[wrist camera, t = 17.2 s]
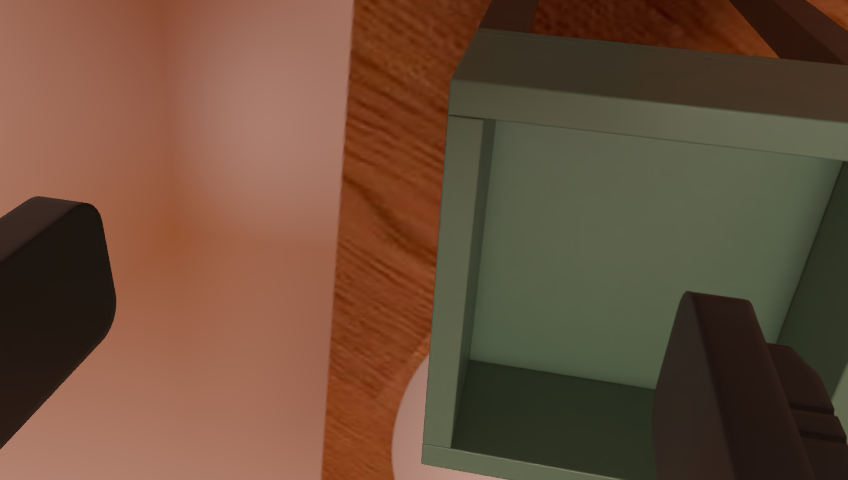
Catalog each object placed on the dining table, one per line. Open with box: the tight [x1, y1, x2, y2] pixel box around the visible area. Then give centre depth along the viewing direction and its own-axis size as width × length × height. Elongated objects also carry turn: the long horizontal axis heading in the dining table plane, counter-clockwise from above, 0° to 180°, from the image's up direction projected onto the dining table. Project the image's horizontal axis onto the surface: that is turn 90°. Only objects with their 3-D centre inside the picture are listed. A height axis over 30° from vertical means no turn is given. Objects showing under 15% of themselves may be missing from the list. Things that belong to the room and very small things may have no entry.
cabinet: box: [421, 0, 848, 480], centre depth 33 cm, size 14×13×28 cm
